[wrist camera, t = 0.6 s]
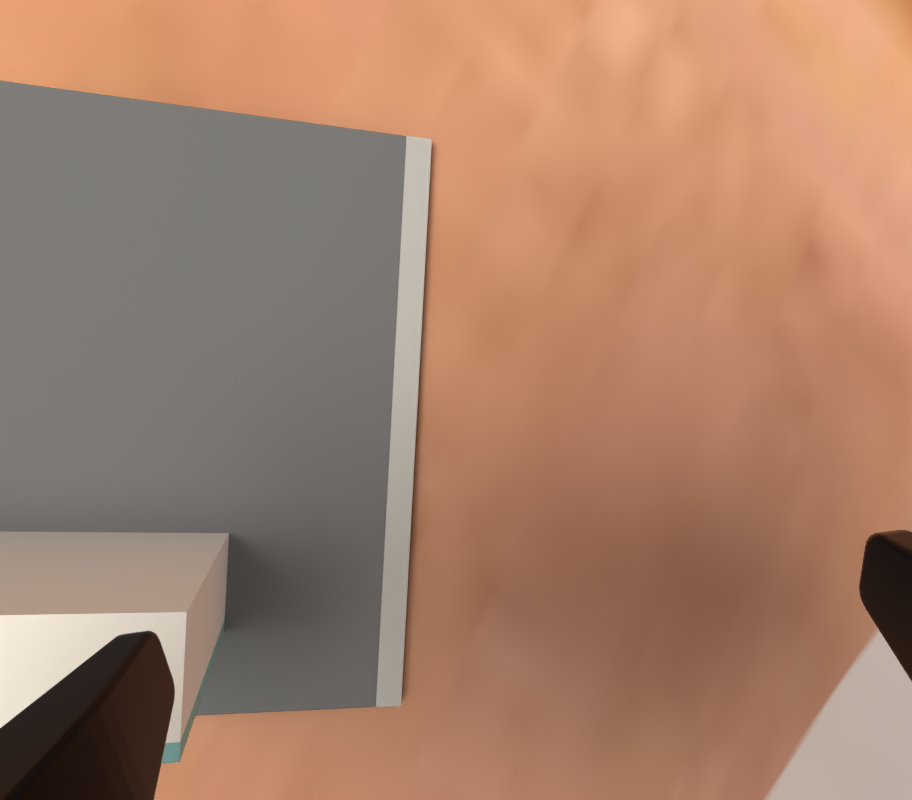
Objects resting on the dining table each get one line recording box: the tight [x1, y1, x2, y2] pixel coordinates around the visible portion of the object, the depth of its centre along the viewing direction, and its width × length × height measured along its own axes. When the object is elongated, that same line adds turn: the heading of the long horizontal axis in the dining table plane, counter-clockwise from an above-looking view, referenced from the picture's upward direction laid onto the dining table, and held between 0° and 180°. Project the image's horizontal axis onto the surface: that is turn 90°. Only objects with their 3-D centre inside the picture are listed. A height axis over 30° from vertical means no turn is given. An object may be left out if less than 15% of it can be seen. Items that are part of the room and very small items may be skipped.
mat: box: [0, 81, 432, 716], centre depth 19 cm, size 18×20×1 cm
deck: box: [0, 531, 229, 763], centre depth 16 cm, size 3×9×7 cm, turn 87°
